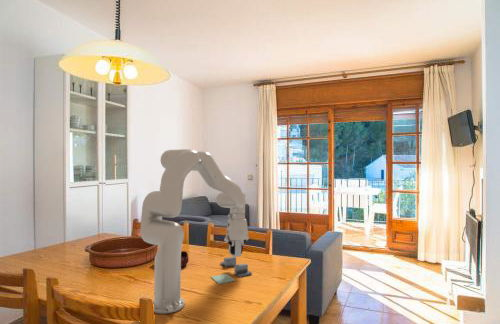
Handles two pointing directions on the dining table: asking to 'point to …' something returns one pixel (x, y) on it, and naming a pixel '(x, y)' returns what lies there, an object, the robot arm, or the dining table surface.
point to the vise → (236, 267)
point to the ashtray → (184, 258)
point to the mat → (222, 278)
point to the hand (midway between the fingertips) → (236, 253)
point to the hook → (236, 248)
